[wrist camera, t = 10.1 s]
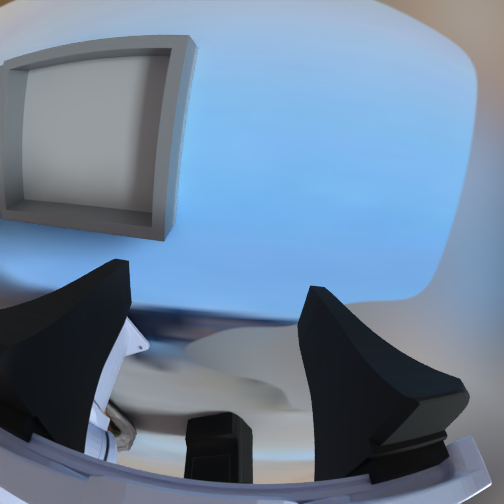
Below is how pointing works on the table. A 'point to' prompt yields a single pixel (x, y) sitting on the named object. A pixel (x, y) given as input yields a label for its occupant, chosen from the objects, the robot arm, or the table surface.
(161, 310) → the table surface
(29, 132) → the case
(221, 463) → the portable radio
